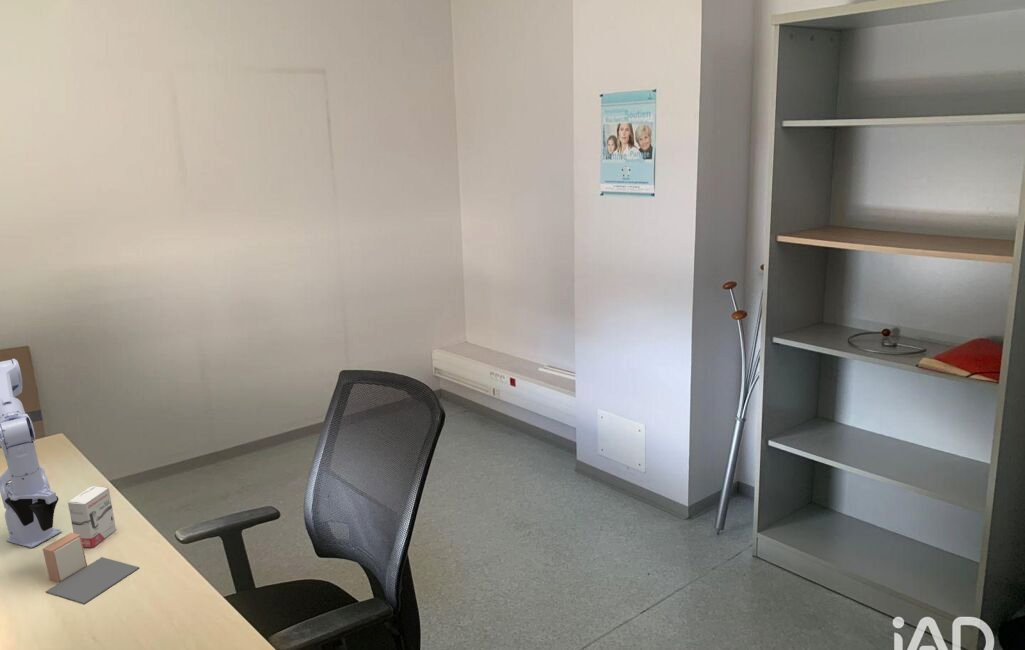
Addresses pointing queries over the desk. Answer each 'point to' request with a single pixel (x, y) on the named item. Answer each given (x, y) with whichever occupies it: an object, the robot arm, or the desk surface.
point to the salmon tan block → (64, 557)
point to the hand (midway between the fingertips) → (38, 526)
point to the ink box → (92, 515)
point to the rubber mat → (92, 580)
